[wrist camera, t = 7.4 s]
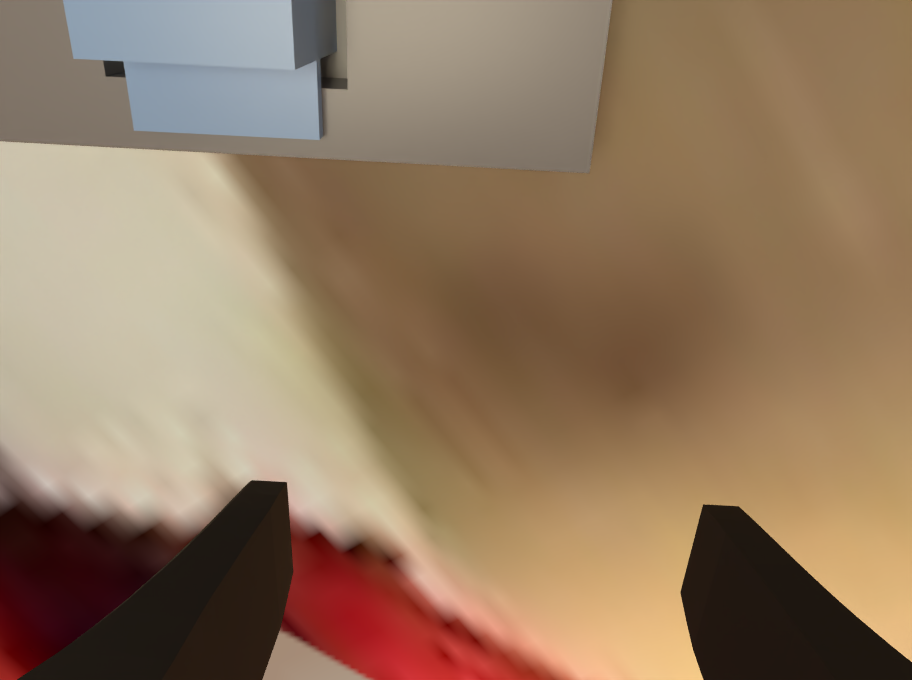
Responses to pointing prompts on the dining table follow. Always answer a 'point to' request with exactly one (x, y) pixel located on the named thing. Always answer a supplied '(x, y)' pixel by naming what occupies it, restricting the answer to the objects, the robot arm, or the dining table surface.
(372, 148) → the grey flat block
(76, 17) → the servo
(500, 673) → the dining table surface
